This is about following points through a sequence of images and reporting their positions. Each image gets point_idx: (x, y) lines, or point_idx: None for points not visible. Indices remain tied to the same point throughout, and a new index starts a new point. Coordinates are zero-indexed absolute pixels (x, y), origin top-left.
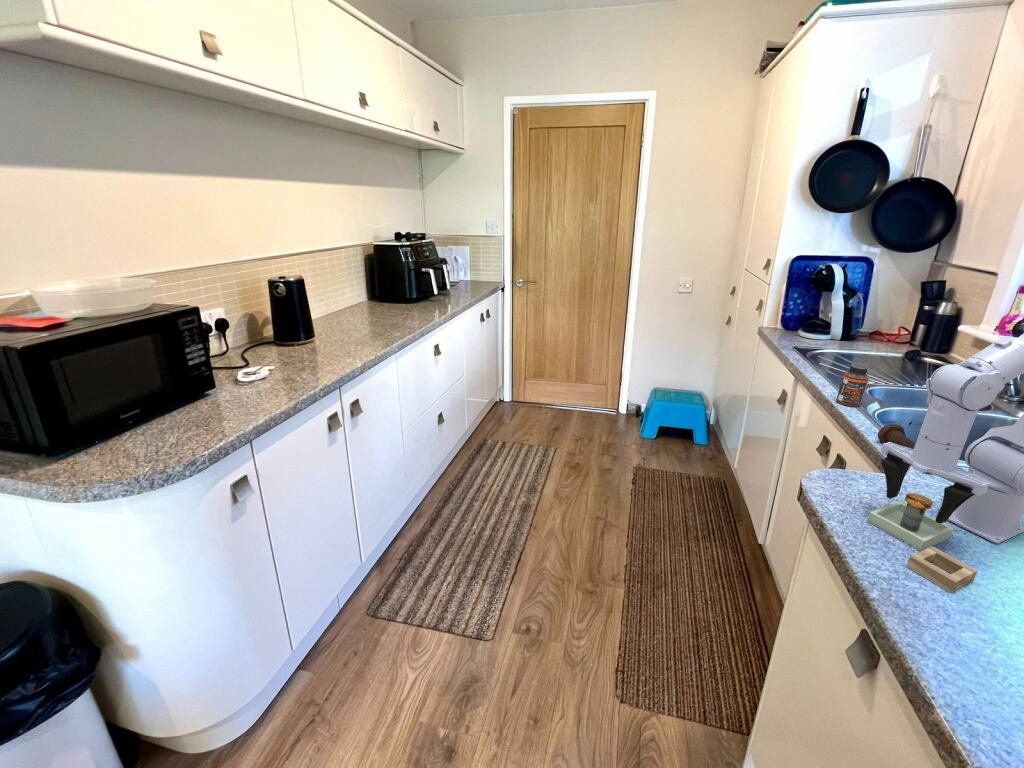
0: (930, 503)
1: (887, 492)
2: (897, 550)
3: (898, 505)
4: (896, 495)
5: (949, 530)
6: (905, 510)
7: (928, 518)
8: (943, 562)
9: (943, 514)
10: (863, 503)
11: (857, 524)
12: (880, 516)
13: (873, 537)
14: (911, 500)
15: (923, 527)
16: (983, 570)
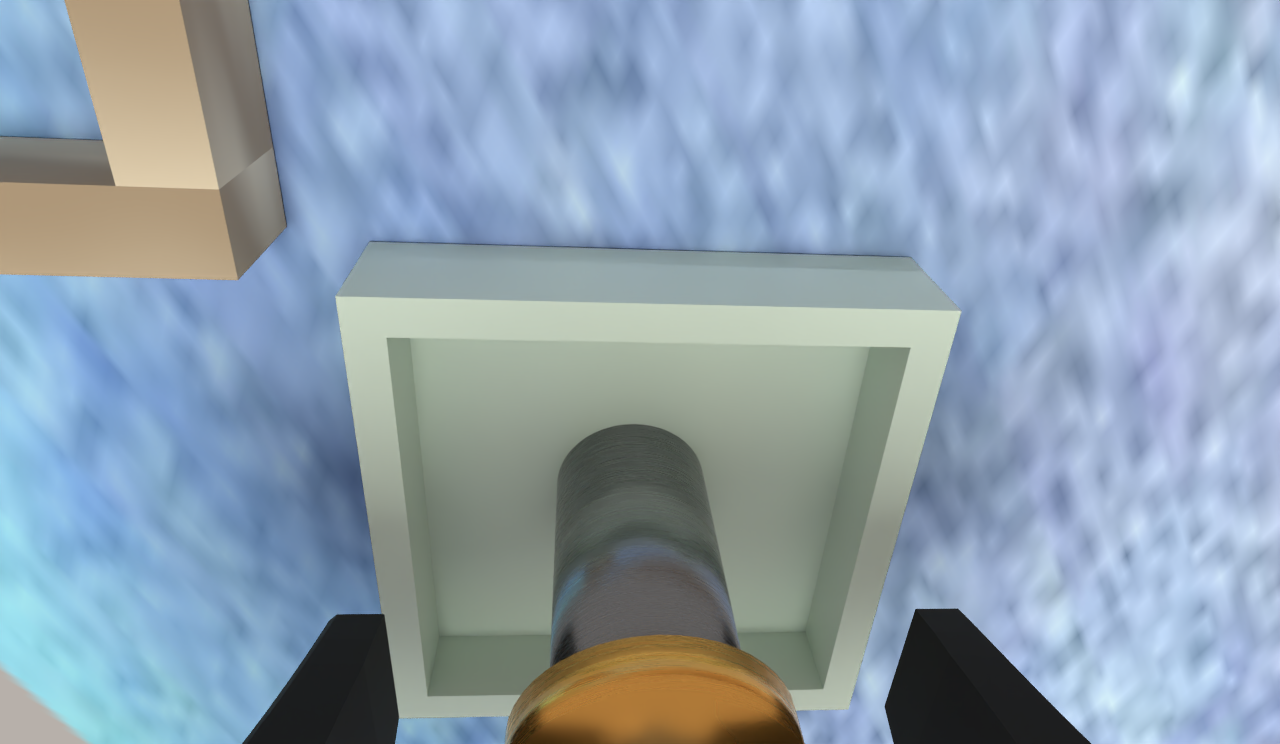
0: None
1: (996, 656)
2: (468, 14)
3: (825, 659)
4: (894, 708)
5: None
6: (712, 574)
7: None
8: (47, 158)
9: (263, 735)
10: (1036, 506)
11: (954, 101)
12: (849, 333)
13: (737, 9)
14: (695, 696)
15: None
16: (13, 463)
